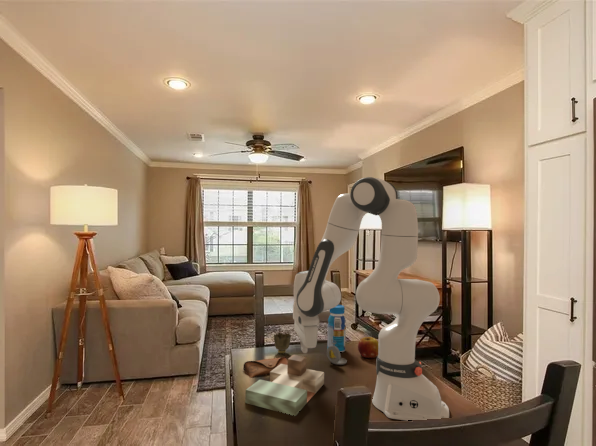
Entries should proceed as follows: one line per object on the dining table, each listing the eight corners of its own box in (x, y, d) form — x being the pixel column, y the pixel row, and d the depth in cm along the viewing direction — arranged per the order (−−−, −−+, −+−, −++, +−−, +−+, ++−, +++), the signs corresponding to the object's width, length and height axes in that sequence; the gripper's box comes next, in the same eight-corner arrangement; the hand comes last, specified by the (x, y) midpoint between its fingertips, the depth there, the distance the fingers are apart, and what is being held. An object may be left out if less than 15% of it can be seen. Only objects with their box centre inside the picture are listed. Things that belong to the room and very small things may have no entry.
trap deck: (323, 383, 121) (324, 372, 121) (295, 416, 99) (295, 402, 99) (280, 374, 128) (281, 363, 128) (245, 402, 106) (245, 389, 106)
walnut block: (306, 371, 122) (306, 356, 122) (300, 376, 117) (300, 361, 118) (293, 368, 124) (293, 354, 124) (287, 373, 119) (287, 358, 120)
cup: (292, 351, 154) (292, 333, 154) (288, 356, 147) (288, 337, 147) (276, 349, 155) (276, 331, 156) (271, 355, 148) (271, 336, 148)
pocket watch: (347, 360, 144) (347, 336, 144) (346, 368, 136) (346, 342, 136) (327, 358, 146) (328, 334, 146) (325, 366, 137) (326, 340, 138)
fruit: (353, 356, 149) (353, 337, 149) (364, 351, 156) (364, 333, 156) (373, 362, 143) (373, 342, 143) (383, 356, 150) (384, 338, 150)
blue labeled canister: (323, 350, 156) (324, 305, 156) (333, 345, 162) (334, 303, 163) (338, 354, 150) (339, 308, 151) (349, 350, 157) (350, 305, 157)
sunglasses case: (249, 378, 124) (247, 359, 127) (244, 381, 129) (242, 363, 132) (295, 371, 132) (291, 353, 135) (288, 374, 137) (285, 357, 140)
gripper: (290, 307, 137) (290, 342, 137) (303, 322, 117) (302, 363, 117) (306, 306, 139) (305, 341, 139) (320, 321, 119) (320, 361, 119)
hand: (304, 351), depth 128 cm, fingers closed
